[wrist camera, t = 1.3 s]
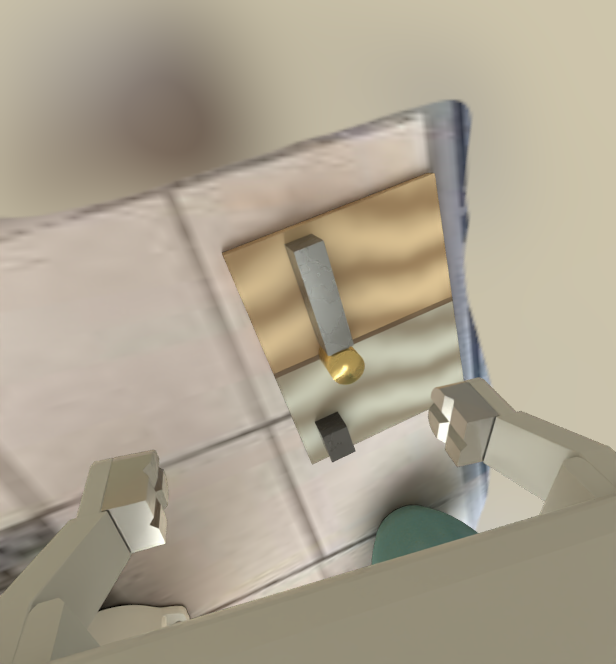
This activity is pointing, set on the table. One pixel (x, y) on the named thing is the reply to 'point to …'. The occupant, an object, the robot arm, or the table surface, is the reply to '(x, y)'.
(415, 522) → the plant pot
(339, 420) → the block
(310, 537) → the table surface
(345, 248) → the door board
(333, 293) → the latch bar
